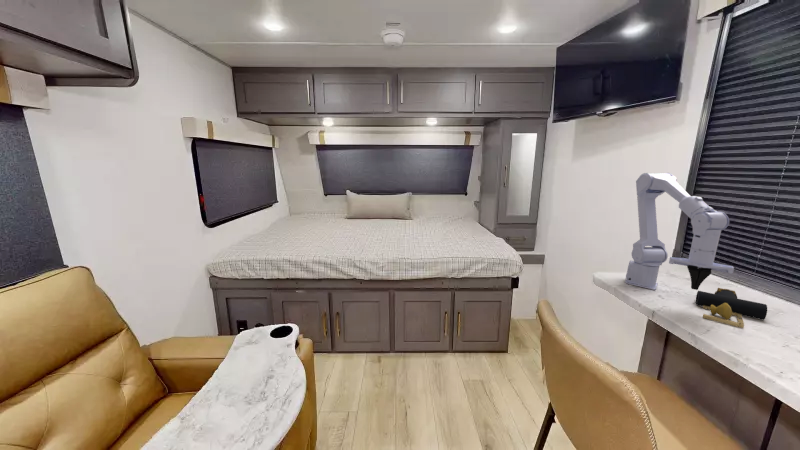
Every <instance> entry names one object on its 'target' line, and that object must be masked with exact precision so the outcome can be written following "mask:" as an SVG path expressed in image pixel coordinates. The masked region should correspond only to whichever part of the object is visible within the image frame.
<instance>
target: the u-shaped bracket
mask: <svg viewBox="0 0 800 450" xmlns="http://www.w3.org/2000/svg"><path fill="white" fill-rule="evenodd" d="M710 307H711V306H707V305H703V306H702V309H705V310H708V311H711V310H710ZM732 316H733V317H735V318H736V321H733V320H730V319H729V320H726V319H725V318H723V317H722V318H721V317H718V316H714V315H709V314H707V313H703V314H702V318H703V319H706V320H709V321H714V322H718V323H721V324H725V325H729V326H732V327H736V328H741V329H744V328H745V327H744V326H745V324H744V323H745V322H744V319H743V315H742V314H741V313H737V312H733V311H732ZM732 316H731V317H732Z"/></svg>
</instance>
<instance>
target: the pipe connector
mask: <svg viewBox="0 0 800 450" xmlns="http://www.w3.org/2000/svg"><path fill="white" fill-rule="evenodd" d="M723 303H727V304H728V305H729V306H730V307H731V310H732V311H733V312H737V313H741V314H742V317H744V316H745V317H748V318H753V319H757V320H760V321H761V320H762V321H765V319H766V317H767V313H768V305H767V304H766V303H761V302H756V301H751V300H747V299H741V298H738V295H737V293H736V291H735V290H732V289H728V288H721V287H718V288H717V289H716V291H715V292H714V293H711V292H706V291H701V290H698V291H697V292H696V295H695V303H694V304H695V305H696V306H701V307H703V305H707V306H711V305H714V306H715V307H718V306H719V305H721V304H723Z"/></svg>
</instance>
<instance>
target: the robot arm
mask: <svg viewBox="0 0 800 450" xmlns="http://www.w3.org/2000/svg"><path fill="white" fill-rule="evenodd" d="M635 183H636V184H635V185H636V186H635V187H636V197H637V199H636V200H637V201H636V202H637V215H638V228H639V229H638V230H639V231H638V232H639V239H638V240H636V242H634V243H633V244H632V251H631V258H632V260H629V262H628V265H627V271H626V275H625V282H624V283H625V284H628V285H632V286H636V287H640V288H644V289H649V290H653V291H656V290H657V287H658V282H657V280H658V275H659V272H660V271H659V270H660V266H662V265H663V263H665V262H666V261H667V260H668V256H669V254H668V251H667V250H666V246H665V245H666V244H665V243H664V242H662V240H661V239H660V238H659V236H658V235H659V234H658V224H657V223H658V222H657V208H656V199H657V198H658V197H659V196H661V195H663V194H664V193H667V194H668V195H669V196H670V197H671V198H673V199H674V200H675V201H676V202H678V208H679V209H680V210H681V211H682V212H683V213H684V215H686V216H687V217H688V218H689V219H690V225H691V226H692V231H691V233H692V234H693V235H692V236H693V237H692V241H691V245H690V246H691V247H690V251H689V255H688V258H684V257H674V256H673V257H672V256H669V260H668V264H670V265H677V266H678V265H679V266H685V267H687V270H688V272H689V276H690V283H691V285H690V287H691V290H696V291H697V290H698V291H699V288H700V286H701V285H702V283H703V281H705V280H706V279H707V278H708V277H710V275H711V274H712V271H717V272H723V273H727V274H730V275H732V274H734V271H735V267H734V266H733V265H728V264H722V263H718V262H715V259H716V254H717V249H718V245H719V241H720V237H721V233H722V231H723V230H725V229H727V227H729V225H730V218H729V216H728V215H727V214H726V212H724V211H719V210H718V211H717V210H715V209H714V208H713V207H712V206H709V204H707V203H706V202H705V201H704V198H702V197H701V196H697V195H692V196H691V195H690V194H689V193H688V192H687V191H686V190H685V188H684V187H682V185H680V183H678V177H676V176H675V175H674V174H673V173H671V172H663V173H662V172H661V173H655V172H654V173H652V172H650V173H648V172H644V173H642V174H640V175H639V177H638V178H637V179H636V180H635Z"/></svg>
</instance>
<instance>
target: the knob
mask: <svg viewBox="0 0 800 450" xmlns="http://www.w3.org/2000/svg"><path fill="white" fill-rule="evenodd" d="M709 311H710V313H711V316H714V315H719V316H720V317H722V319H726V320H730V319H731V318H732V310H731V307H730V306H729V305H728V304H727V303H723V304H721V305H719V306H718V307H715V306H714V305H711V307H710V310H709Z"/></svg>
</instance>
